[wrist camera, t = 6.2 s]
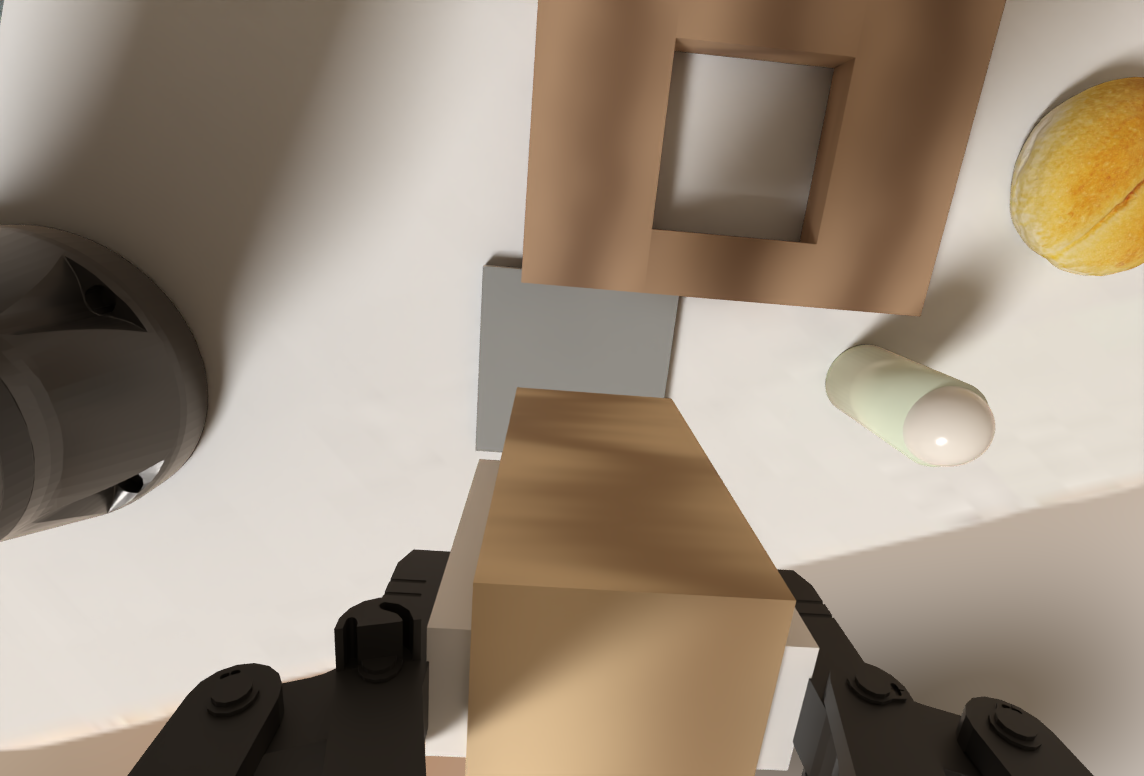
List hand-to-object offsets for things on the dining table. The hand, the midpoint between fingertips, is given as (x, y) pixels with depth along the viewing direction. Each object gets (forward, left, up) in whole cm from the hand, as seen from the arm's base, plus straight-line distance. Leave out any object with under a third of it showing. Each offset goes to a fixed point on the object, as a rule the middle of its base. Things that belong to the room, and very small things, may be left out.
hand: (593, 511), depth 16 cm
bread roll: (+25, +12, -16) cm, 32 cm away
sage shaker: (+16, +1, -16) cm, 22 cm away
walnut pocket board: (+7, +12, -16) cm, 21 cm away
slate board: (0, 0, -16) cm, 16 cm away
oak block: (0, 0, -3) cm, 3 cm away
